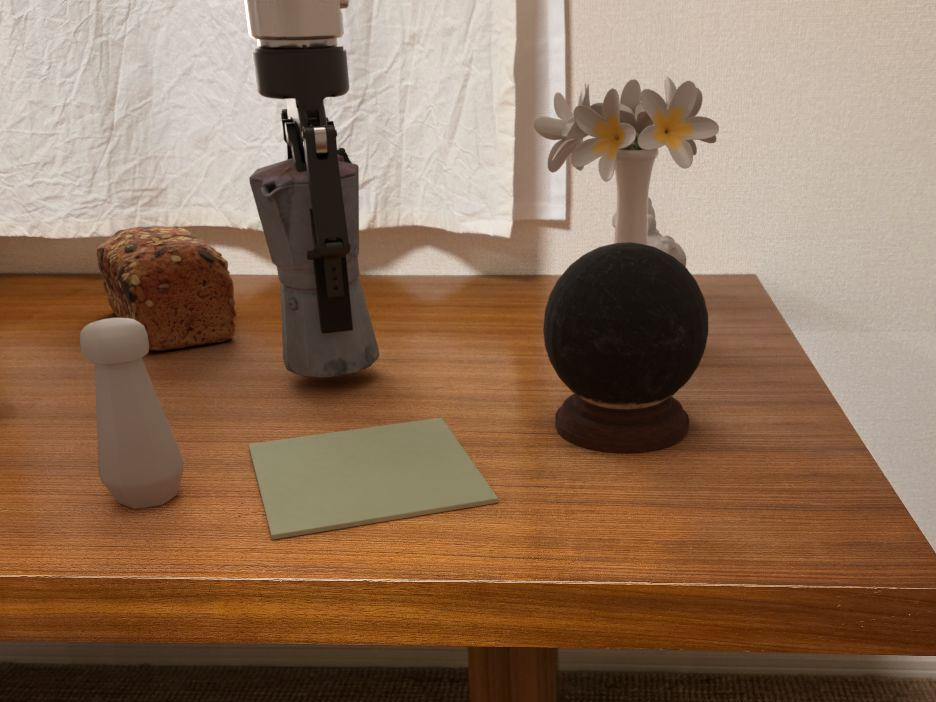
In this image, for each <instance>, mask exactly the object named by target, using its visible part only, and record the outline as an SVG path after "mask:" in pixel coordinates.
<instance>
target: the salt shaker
mask: <svg viewBox="0 0 936 702" xmlns="http://www.w3.org/2000/svg"><path fill="white" fill-rule="evenodd" d="M79 346H80V349H81V353H82V356H83V357H84V359H85V360H86V361H88V362H90V363H91V364H94V386H95V388H94V389H95V390H94V391H95V413H96V415H95V416H96V439H97V440H96V442H97V443H96V446H97V473H98V477H99V478H100V482H101V483H102V484H103V486H104V487H105V488H106V489H107V491H109V493H110V495H111V496H112V497H113V498H114V500H116V502H117V503H118V504H121V505H123V506H126V507H129V508H131V509H134V510H138V509H145V508H153V507H160V506H163V505H164V504H165V503H167V502H169V501H170V500H172V499H173V498H174V497H176V496H178V495H179V492H180V491H179V490H180V486H181V481H182V478H183V475H184V474H183V473H184V456H183V454H182V451H181V449H180V447H179V444H178V442H177V440H176V438H175V435H174V433H173V430H172V428H171V426H170V423H169V420H168V418H167V416H166V414H165V411H164V409H163V407H162V404H161V401H160V400H159V397H158V394H157V392H156V389H155V387H154V385H153V383H152V380H151V377H150V374H149V371H148V370H147V366H146V365H145V362H144V359H143V357H145V356H146V355H147V354H149V351H150V350H149V342H148V335H147V332H146V330H145V327H144V325H142V324H141V323H139V322H138V321H136V320H134V319H129V318H117V317H110V318H102V319H99V320H95V321H92V322H90V323H88V324H87V325H84V327H82V330H80V333H79Z"/></svg>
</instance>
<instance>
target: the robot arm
mask: <svg viewBox="0 0 936 702" xmlns="http://www.w3.org/2000/svg"><path fill="white" fill-rule="evenodd" d="M349 1H350V0H244V8H245V14H246V15H245V16H246V22H247V23H246V24H247V30H248V35H249V37H250V38H252V39H254V40H256V41H257V45H256V46H254V47H253V50H252V51H251V55H252V64H253V71H254V72H253V73H254V80H255V88H256V91H257V93H258V94H259V95H260V96H261V97H264V98H268V99H275V100H286V108H281V110H280V111H281V112H280V131H281V135H282V139H283V141H284V149H285V150H284V151H285V158H286V159H285V160H288V159H291V158H293V161H294V165H295V168H296V170H297V171H298V172H304V171H307V174H308V182H309V189H310V196H311V203H312V209H311V208H310V219H311V230H312V237H313V243H314V250H312V251H307V254H306V255H307V259H308V260H313V265H314V274H315V283H316V292H317V301H318V310H319V319H320V327H321V332H322V334H324V333H333V332H343V331H352V330H353V324H352V314H351V303H350V293H349V282H348V272H347V261H346V254H349V252H350V249H351V248H350V243H349V241H348V233H347V225H346V217H345V210H344V202H343V194H342V186H341V179H340V171H339V163H338V154H337V150H338V144H337V143H338V142H337V137H338V130H337V129H336V126H335V123H334V121H333V120H330V119H329V117H327V115H326V114H327V113H326V108H325V103H324V101H325V99H326V98H338V97H342V96H344V95H346V94H347V93H348V92H349V90H350V78H349V67H348V57H347V49H345V48H344V46H343V45H341V44H338V39H341V38H342V37H343V36H344V34H345V30H344V29H345V28H344V17H343V12H342V11H341V9H344V10H345V9H347V8H349V6H350V4H349ZM302 162H303V163H306V164H303V163H302ZM328 238H336V240H327V241H325V240H326V239H328Z"/></svg>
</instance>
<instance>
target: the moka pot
mask: <svg viewBox="0 0 936 702" xmlns="http://www.w3.org/2000/svg"><path fill="white" fill-rule="evenodd" d="M337 154H338V163H339V171H340V179H341V186H342V194H343V202H344V210H345V217H346V225H347V233H348V241H349V243H350V248H351V249H350V252H349V254H346V261H347V272H348V282H349V293H350V303H351V314H352V324H353V330H352V331H343V332H333V333H324V334H322V332H321V327H320V319H319V310H318V301H317V292H316V283H315V274H314V265H313V260H308V259H307V255H306V254H307V251H312V250H314V243H313V237H312V230H311V219H310V208H311V209H312V203H311V196H310V189H309V182H308V174H307V171H304V172H298V171H297V170H296V168H295V165H294V161H293V158H291V159H288V160H287V159H285V160H281V161H279V162H276V163H273V164H269V165H266V166H263V167H259V168H257V169H256V170H254V172H253V173H252V174H251V175H250V176H249V179H248V181H249V185H250V188H251V192H252V196H253V200H254V203H255V205H256V206H255V207H256V210H257V214H258V218H259V220H260V224H261V228H262V231H263V235H264V238H265V243H266V245H267V248H268V251H269V252H268V253H269V256H270V260H271V263H272V264H273V265H275V266H276V272H277V276H278V281H279V283H280V284H281V286H280V311H281V313H280V314H281V315H280V316H281V338H282V339H281V340H282V359H283V364H284V366H285V369H286V370H287V371H288V372H290V373H293V374H295V375H298V376H302V377H307V378H335V377H342V376H347V375H351V374H354V373H358V372H361V371H363V370H365V369H368V368H370V367H372V365H373V364H374V363H375V362H376V361H378V359H379V357H380V350H379V344H378V341H377V338H376V335H375V330H374V327H373V323H372V320H371V316H370V311H369V307H368V304H367V301H366V296H365V293H364V289H363V286H362V285H363V284H362V282H361V280H360V278H359V277H360V266H359V265H360V264H359V254H360V184H359V183H360V180H359V179H360V177H359V173H360V171H359V169H360V168H359V165H358V164H357V163H353V162H352V161H351V159H350V157H349V154H348V153H347V152H346V149H345V148H344V147H339V148H337ZM302 163H303V162H302ZM303 164H306V163H303ZM327 240H336V238H328V239H326V240H325V241H327Z"/></svg>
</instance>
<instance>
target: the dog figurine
mask: <svg viewBox="0 0 936 702" xmlns="http://www.w3.org/2000/svg"><path fill="white" fill-rule="evenodd" d="M615 224H616V212H614V214H613V215H612V218H611V225H612V227H613V228H614V229H615ZM647 243H648V246H653V247H656V248H658V249H660V250H662V251H664V252H665V253H667V254H669V255H671V256H673V257H675V258H676V259H677V260H678V261H679V262H680V263H682V264H683V265H684V266H685V267H686V268H687V255H686V252H685V251H684V248H682V246H681V245H680V244H679V243H678V242H676V239H674V238H673V237H672V236H671V235H662V233H660V230H658V229H657V220H656V212H655V209H654V206H653V201H652V199H651V198H650V197H649V196H648V213H647Z"/></svg>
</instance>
